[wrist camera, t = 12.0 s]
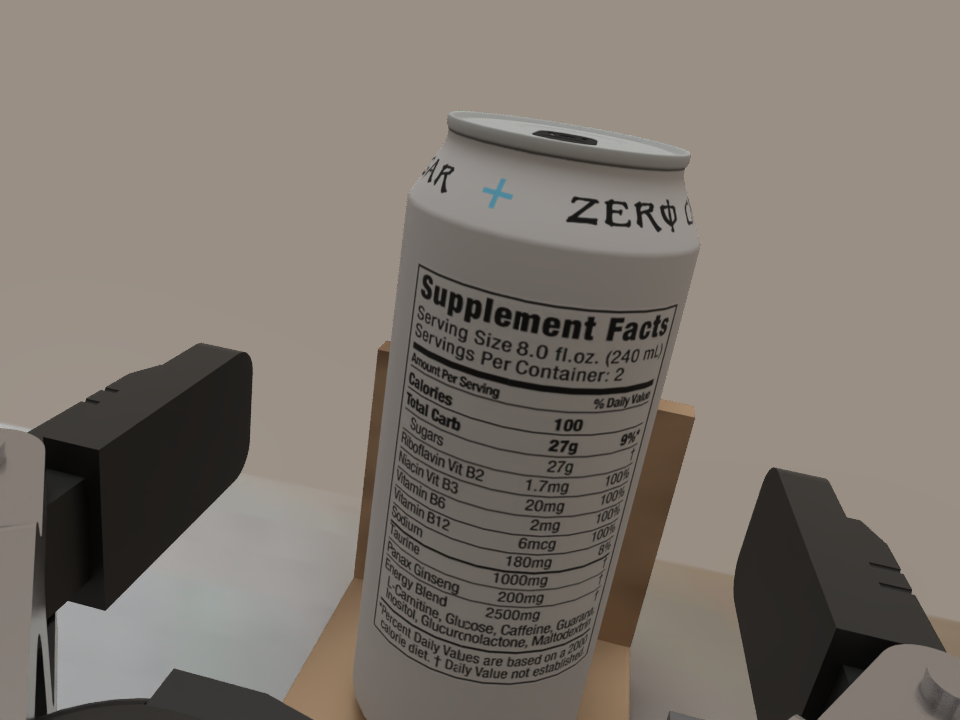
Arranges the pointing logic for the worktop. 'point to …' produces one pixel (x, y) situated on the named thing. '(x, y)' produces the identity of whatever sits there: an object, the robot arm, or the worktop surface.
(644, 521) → the wooden l-shaped stand
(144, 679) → the worktop surface
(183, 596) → the worktop surface
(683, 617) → the worktop surface
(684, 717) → the socket block
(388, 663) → the energy drink can
